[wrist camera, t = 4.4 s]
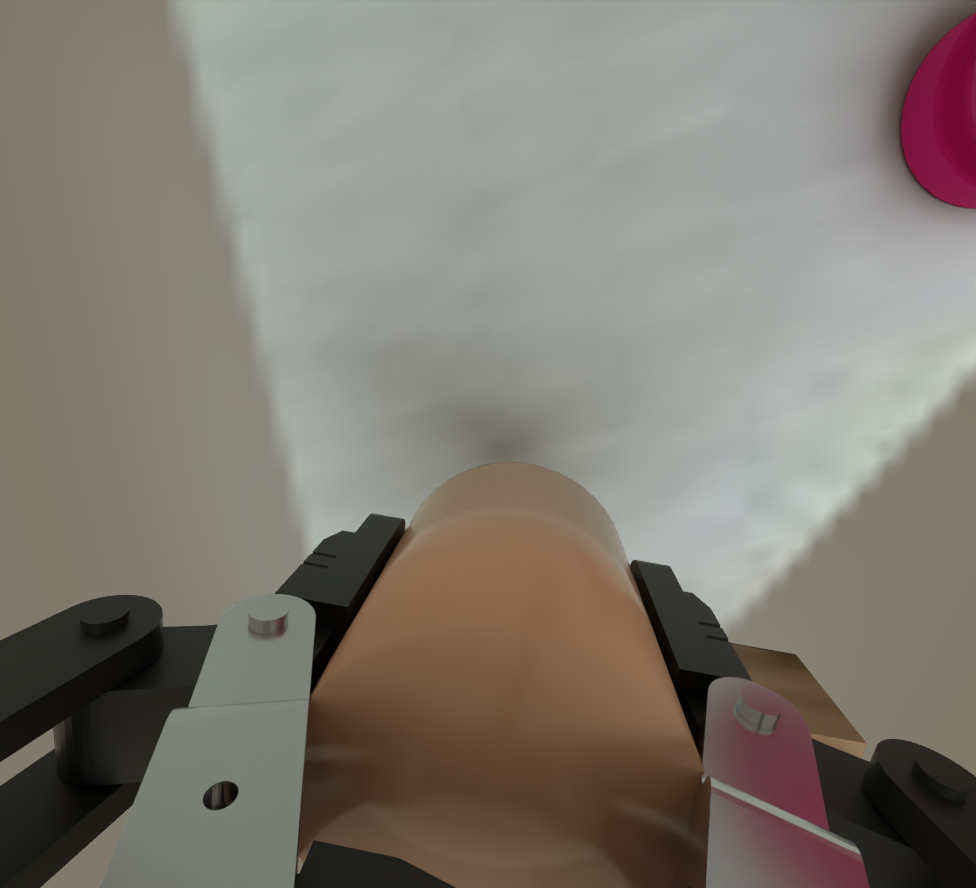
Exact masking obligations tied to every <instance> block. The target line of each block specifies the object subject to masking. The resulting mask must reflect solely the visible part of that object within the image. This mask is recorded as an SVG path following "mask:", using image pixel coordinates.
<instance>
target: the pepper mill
mask: <svg viewBox="0 0 976 888" xmlns="http://www.w3.org/2000/svg"><path fill="white" fill-rule="evenodd" d="M901 139H902V146H903V150H904V154H905V158H906V162H907V163H908V165H909V167H910V169H911V170H912V172H913V174H914V175H915V177H916V179H917V180H918V182H919V183H920V184H921V185H922V186H923V187H924V188H926V189H927V190H928V191H929V192H930V193H932V194H933V195H934V196H936V197H937V198H939V199H941V200H943V201H945V202H947V203H950V204H953V205H956V206H961V207H966V208H976V12H975V13H974V14H972V15H971V16H969V17H968V18H966V19H965V20H963V21H962V22H961V23H959V24H958V25H956V26H955V27H954V28H953V29H952V30H950V31H949V32H948V33H947V34H946V35H945V36H944V37H943V38H942V39H941V40H940V41H939V42H938V43H937V44H936V45H935V46H934V47H933V48H932V50H931V51H930V52H929V54H928V55H927V56H926V58H925V59H924V61H923V62H922V64H921V65H920V67H919V68H918V70H917V72H916V74H915V76H914V78H913V80H912V82H911V85H910V88H909V90H908V93H907V96H906V100H905V103H904V107H903V116H902V125H901Z"/></svg>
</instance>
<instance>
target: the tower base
mask: <svg viewBox="0 0 976 888" xmlns="http://www.w3.org/2000/svg"><path fill="white" fill-rule="evenodd" d="M731 645H732V646H733V648H734V650H735V651H736V653H737V655H738V657H739V658H740V660H741V662H742V663H743V665H744V667H745V669H746V670H747V672H748V674H749V675H750V677H751V679H752V681H753V682H755V683H758V684H760V685H762V686H765V687H767V688H769V689H770V690H772V691H774V692H776V693H777V694H779V695H780V696H782V697H783V698H784V699H786V700H787V701H788V702H790V703H791V704H792V705H793V706H794V707H795V708H796V709H797V710H798V711H799V712H800V713H801V715H802V716H803V717H804V718H805V720H806V722H807V724H808V726H809V729H810V732H811V738H813V739H815V740H817V741H819V742H822V743H824V744H826V745H829V746H831V747H834V748H836V749H839V750H841V751H844V752H847V753H849V754H851V755H854V756H856V757H859V758H861V757H862V755H863V753H864V750H865V747H866V745H867V743H866V742H865V741H864V739H863V738H862V737H861V736H860V734H859V733H858V732H857V731H856V730H855V728H854V727H853V726H852V724H851V723H850V722H849V721H848V719H847V718H846V717H845V716H844V714H843V713H842V712H841V711H840V709H839V708H838V707H837V706H836V704H835V703H834V702H833V701H832V699H831V698H830V697H829V696H828V694H827V693H826V692H825V691H824V689H823V688H822V687H821V685H820V684H819V683H818V682H817V680H816V679H815V678H814V677H813V676H812V674H811V673H810V672H809V671H808V669H807V668H806V667H805V666H804V664H803V663H802V662H801V660H800V659H799V658H798V657H797V655H796V654H791V653H786V652H780V651H774V650H768V649H763V648H757V647H752V646H746V645H741V644H735V643H731Z"/></svg>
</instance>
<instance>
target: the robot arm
mask: <svg viewBox="0 0 976 888" xmlns="http://www.w3.org/2000/svg"><path fill="white" fill-rule="evenodd" d="M404 532H405V520H404V519H400V518H395V517H389V516H383V515H377V514H370V515H369V516H368V518H367V519H366V520H365V521H364V523H363V524H362V525H361V526H360V528H359V529H358V530H357V531H356V533H353V532H347V531H341V532H339V533H337V534H335V535H332V536H330V537H328V538H326V539H324V540H323V541H322V542H321V543H320V544H319V545H318V546H317V548H316V549H315V550H314V551H313V554H310V555H309V556H308V557H307V559H306V560H305V561H304V563H303V564H301V565H300V566H299V567H298V568H297V570H296V571H295V572H294V573H293V574H292V575H291V576H290V577H289V578H288V579H287V580H286V582H285V583H284V584H283V585H282V586H281V587H280V588H279V589H278V590H277V591H276V593H275V594H266V595H259V596H255V597H251V598H248V599H245V600H243V601H240V602H238V603H236V604H234V605H233V606H231V607H230V608H229V609H227V610H226V611H225V612H224V614H223V615H222V616H221V618H220V620H219V623H218V625H208V626H181V627H163V612H162V608H161V606H160V605H159V604H158V603H157V602H156V601H154V600H152V599H149V598H146V597H142V596H136V595H115V596H107V597H102V598H97V599H93V600H89V601H86V602H83V603H80V604H78V605H75V606H73V607H71V608H68V609H66V610H64V611H62V612H60V613H58V614H56V615H53V616H51V617H49V618H47V619H45V620H43V621H41V622H39V623H37V624H35V625H32V626H30V627H28V628H26V629H24V630H22V631H20V632H17V633H15V634H13V635H11V636H9V637H7V638H5V639H3V640H0V762H1V761H3V760H4V759H6V758H7V757H9V756H10V755H12V754H13V753H15V752H16V751H18V750H19V749H21V748H22V747H24V746H25V745H27V744H28V743H30V742H32V741H33V740H35V739H36V738H38V737H39V736H41V735H42V734H44V733H45V732H47V731H48V730H50V729H52V728H53V732H54V743H55V749H53V750H52V751H51V752H49V753H48V754H46V755H45V756H43V757H42V758H40V759H39V760H37V761H36V762H34V763H33V764H32V765H30V766H29V767H27V768H26V769H24V770H23V771H22V772H20V773H18V774H17V775H16V776H14V777H13V778H11V779H10V780H8V781H7V782H6V783H4V784H3V785H1V786H0V888H40V887H41V886H42V885H44V884H45V883H46V882H47V881H48V880H49V879H50V878H51V877H52V876H54V875H55V874H56V873H57V872H58V871H59V870H60V869H61V868H63V866H65V865H66V864H67V863H68V862H69V861H70V860H71V859H73V858H74V857H75V856H76V855H77V854H78V853H79V852H80V851H81V850H82V849H84V848H85V847H86V846H87V845H88V844H89V843H90V842H92V841H93V840H94V839H95V838H96V837H97V836H98V835H99V834H100V833H102V832H103V831H104V830H105V829H106V828H107V827H108V826H109V825H111V824H112V823H113V822H114V821H115V820H116V819H117V818H118V817H119V816H121V815H122V814H123V813H124V812H125V811H126V810H127V809H128V808H130V807H131V806H132V805H133V806H132V808H131V811H130V813H129V816H128V818H127V821H126V823H125V826H124V828H123V831H122V833H121V836H120V838H119V841H118V844H117V846H116V849H115V851H114V854H113V856H112V859H111V861H110V864H109V866H108V869H107V871H106V874H105V876H104V879H103V881H102V884H101V886H100V888H456V887H454V886H452V885H450V884H448V883H446V882H444V881H443V880H441V879H439V878H437V877H435V876H433V875H431V874H429V873H427V872H425V871H423V870H422V869H420V868H418V867H416V866H414V865H412V864H410V863H408V862H406V861H404V860H402V859H400V858H398V857H393V856H388V855H383V854H378V853H373V852H369V851H364V850H359V849H354V848H349V847H344V846H340V845H335V844H330V843H325V842H320V841H315V840H313V843H312V845H311V848H310V850H309V852H308V855H307V857H306V860H305V862H304V864H303V867H302V869H301V872H300V873H299V874H297V872H298V857H299V844H300V826H301V811H302V796H303V782H304V767H305V753H306V740H307V726H308V711H309V698H310V694H311V693H312V691H313V689H314V688H315V686H316V684H317V682H318V681H319V679H320V677H321V675H322V674H323V672H324V670H325V669H326V667H327V665H328V663H329V662H330V660H331V658H332V657H333V655H334V653H335V651H336V650H337V648H338V646H339V644H340V643H341V641H342V639H343V638H344V636H345V634H346V632H347V631H348V629H349V627H350V625H351V624H352V622H353V620H354V619H355V617H356V615H357V613H358V612H359V610H360V608H361V607H362V605H363V603H364V601H365V600H366V598H367V596H368V594H369V593H370V591H371V589H372V588H373V586H374V584H375V582H376V581H377V579H378V577H379V576H380V574H381V572H382V570H383V569H384V567H385V565H386V563H387V562H388V560H389V558H390V557H391V555H392V553H393V551H394V550H395V548H396V546H397V545H398V543H399V541H400V539H401V538H402V536H403V534H404ZM630 568H631V571H632V574H633V576H634V579H635V582H636V584H637V587H638V590H639V593H640V595H641V598H642V601H643V604H644V606H645V609H646V612H647V615H648V617H649V620H650V623H651V626H652V628H653V631H654V634H655V636H656V639H657V642H658V645H659V647H660V650H661V653H662V656H663V658H664V661H665V664H666V667H667V669H668V672H669V675H670V677H671V680H672V683H673V686H674V688H675V691H676V694H677V697H678V699H679V702H680V705H681V708H682V710H683V713H684V716H685V719H686V721H687V724H688V727H689V729H690V732H691V735H692V738H693V740H694V743H695V746H696V749H697V751H698V754H699V757H700V760H701V762H702V765H703V768H704V771H705V773H703V772H702V774H701V777H700V780H699V783H698V786H697V789H696V792H695V795H694V798H693V801H692V804H691V813H690V819H689V825H688V830H687V835H686V839H685V843H684V847H683V850H682V853H681V856H680V860H679V863H678V866H677V869H676V872H675V875H674V878H673V881H672V884H671V887H670V888H976V777H975V776H974V775H972V774H971V773H970V772H968V771H967V770H966V769H964V768H963V767H961V766H960V765H958V764H957V763H955V762H954V761H952V760H950V759H948V758H947V757H945V756H943V755H941V754H939V753H937V752H935V751H933V750H931V749H929V748H927V747H924V746H921V745H919V744H916V743H912V742H909V741H905V740H899V739H887V740H884V741H881V742H880V743H878V744H877V747H876V749H875V752H874V754H873V756H872V758H871V761H870V762H868V761H866V760H863V759H861V758H859V757H856V756H854V755H851V754H849V753H846V752H844V751H841V750H839V749H836V748H834V747H831V746H829V745H826V744H824V743H822V742H819V741H817V740H815V739H813V738H811V732H810V729H809V726H808V724H807V722H806V720H805V718H804V717H803V716H802V715H801V713H800V712H799V711H798V710H797V709H796V708H795V707H794V706H793V705H792V704H791V703H790V702H788V701H787V700H786V699H784V698H783V697H782V696H780V695H779V694H777V693H776V692H774V691H772V690H770V689H769V688H767V687H765V686H762V685H760V684H758V683H755V682H753V681H752V679H751V677H750V675H749V674H748V672H747V670H746V669H745V667H744V665H743V663H742V662H741V660H740V658H739V657H738V655H737V653H736V651H735V650H734V648H733V646H732V645H731V643H730V642H728V638H727V636H726V634H725V633H724V631H723V629H722V628H720V624H719V622H718V620H717V619H716V617H715V615H714V614H713V612H712V610H711V609H710V608H709V607H708V606H707V605H706V604H705V603H703V602H702V601H701V600H700V599H699V598H698V597H696V596H695V595H694V594H693V593H689V592H683V590H682V588H681V587H680V585H679V583H678V581H677V579H676V577H675V575H674V573H673V571H672V569H671V568H670V566H666V565H661V564H655V563H649V562H644V561H638V560H633V561H632V563H631V565H630Z"/></svg>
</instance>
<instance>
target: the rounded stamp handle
mask: <svg viewBox="0 0 976 888" xmlns="http://www.w3.org/2000/svg"><path fill="white" fill-rule="evenodd" d="M702 772H703V773H705V771H704V768H703V765H702V762H701V760H700V757H699V754H698V751H697V749H696V746H695V743H694V740H693V738H692V735H691V732H690V729H689V727H688V724H687V721H686V719H685V716H684V713H683V710H682V708H681V705H680V702H679V699H678V697H677V694H676V691H675V688H674V686H673V683H672V680H671V677H670V675H669V672H668V669H667V667H666V664H665V661H664V658H663V656H662V653H661V650H660V647H659V645H658V642H657V639H656V636H655V634H654V631H653V628H652V626H651V623H650V620H649V617H648V615H647V612H646V609H645V606H644V604H643V601H642V598H641V595H640V593H639V590H638V587H637V584H636V582H635V579H634V576H633V574H632V571H631V568H630V565H629V563H628V560H627V557H626V554H625V552H624V549H623V546H622V543H621V541H620V538H619V535H618V533H617V531H616V528H615V526H614V524H613V522H612V520H611V518H610V517H609V515H608V514H607V512H606V510H605V509H604V508H603V507H602V505H601V504H600V503H599V502H598V501H597V499H596V498H595V497H594V496H593V495H591V494H590V493H589V492H588V491H587V490H586V489H585V488H584V487H582V486H581V485H579V484H578V483H576V482H575V481H573V480H572V479H570V478H568V477H566V476H564V475H562V474H560V473H558V472H556V471H553V470H550V469H547V468H545V467H540V466H536V465H532V464H525V463H515V462H513V463H495V464H488V465H483V466H479V467H476V468H472V469H469V470H467V471H465V472H462V473H460V474H458V475H456V476H454V477H452V478H451V479H449V480H447V481H446V482H444V483H443V484H442V485H440V486H439V487H438V488H437V489H435V490H434V491H433V492H432V493H431V494H430V495H429V496H428V497H427V499H426V500H425V501H424V502H423V503H422V505H421V506H420V508H419V509H418V510H417V512H416V514H415V515H414V517H413V519H412V520H411V522H410V524H409V526H408V527H407V529H406V531H405V532H404V534H403V536H402V538H401V539H400V541H399V543H398V545H397V546H396V548H395V550H394V551H393V553H392V555H391V557H390V558H389V560H388V562H387V563H386V565H385V567H384V569H383V570H382V572H381V574H380V576H379V577H378V579H377V581H376V582H375V584H374V586H373V588H372V589H371V591H370V593H369V594H368V596H367V598H366V600H365V601H364V603H363V605H362V607H361V608H360V610H359V612H358V613H357V615H356V617H355V619H354V620H353V622H352V624H351V625H350V627H349V629H348V631H347V632H346V634H345V636H344V638H343V639H342V641H341V643H340V644H339V646H338V648H337V650H336V651H335V653H334V655H333V657H332V658H331V660H330V662H329V663H328V665H327V667H326V669H325V670H324V672H323V674H322V675H321V677H320V679H319V681H318V682H317V684H316V686H315V688H314V689H313V691H312V693H311V694H310V698H309V711H308V726H307V740H306V753H305V767H304V782H303V796H302V811H301V826H300V844H299V857H300V858H301V861H302V862H303V864H304V862H305V860H306V857H307V855H308V852H309V850H310V848H311V845H312V843H313V840H315V841H320V842H325V843H330V844H335V845H340V846H344V847H349V848H354V849H359V850H364V851H369V852H373V853H378V854H383V855H388V856H393V857H398V858H400V859H402V860H404V861H406V862H408V863H410V864H412V865H414V866H416V867H418V868H420V869H422V870H423V871H425V872H427V873H429V874H431V875H433V876H435V877H437V878H439V879H441V880H443V881H444V882H446V883H448V884H450V885H452V886H454V887H456V888H670V887H671V884H672V881H673V878H674V875H675V872H676V869H677V866H678V863H679V860H680V856H681V853H682V850H683V847H684V843H685V839H686V835H687V830H688V825H689V819H690V813H691V804H692V801H693V798H694V795H695V792H696V789H697V786H698V783H699V780H700V777H701V774H702Z"/></svg>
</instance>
